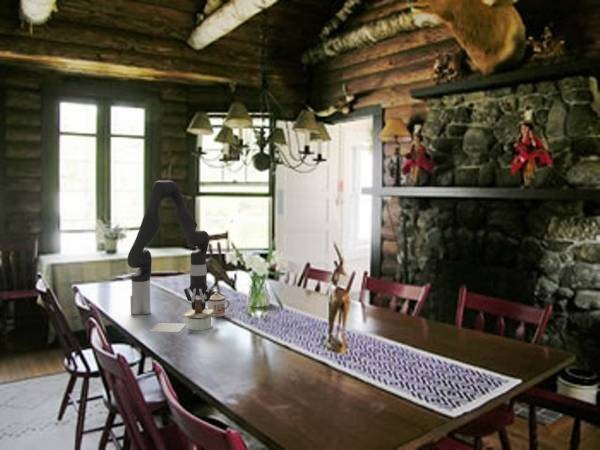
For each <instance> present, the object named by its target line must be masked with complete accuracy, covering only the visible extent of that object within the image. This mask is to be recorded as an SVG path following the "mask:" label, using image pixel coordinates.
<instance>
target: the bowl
mask: <svg viewBox="0 0 600 450" xmlns="http://www.w3.org/2000/svg"><path fill="white" fill-rule="evenodd" d="M186 324H187V325H186V328H187V329H188V330H190V331H191V330H192V331H204V330H208V329H210V328H211V327H212V317H211V316H210V317H209V318H186Z"/></svg>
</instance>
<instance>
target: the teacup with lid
mask: <svg viewBox="0 0 600 450" xmlns="http://www.w3.org/2000/svg"><path fill="white" fill-rule="evenodd" d="M226 302H227V305H226ZM230 305H231V304H230V300H228V299H226V297H225V296H224V295H221V294H219V292H214V294H211V297H210V300H209V301H207V309H213V310H214V312H213V314H212V315H211V318H212V317H213V318H215V317H216V318H219V317H224V316H225V315H226V310H227V309H228V308H230Z"/></svg>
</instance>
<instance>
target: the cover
mask: <svg viewBox="0 0 600 450" xmlns="http://www.w3.org/2000/svg"><path fill="white" fill-rule="evenodd" d="M213 312H214V310H213V309H208V308H205V309H204V310H202V299H201V298H196V299H195V310H193V309H192V308H189V309H188V310H187V311H185V312H184V313H183V314H182V318H186V319H187V318H209V317H210V316H211V315H212V314H213Z"/></svg>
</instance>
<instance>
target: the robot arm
mask: <svg viewBox="0 0 600 450" xmlns="http://www.w3.org/2000/svg"><path fill="white" fill-rule="evenodd" d="M163 200H165V201H166V200H171V202H172V203H173V204H174V206H175V207H174V208H175V219H176V221H177V223H178V224H179V226H180V227H181V229H182V230H183V234H184V238H185V241H186V243H187V244H188V245H189V246H191V247H194V248H195V247H196V249H195V250H194V251H192V252H191V253H190V267H189V268H190V269H189V271H190V272H189V277H190V279H189V281H190V282H189V283H190V284H189V287H186V288H185V287H184V289H183V292H184V294H185V297H186V299H187V301H188V302H191V309H193V310H195V299H197V296H200V299H202V310H204V309H207V308H206V302H207V303H208V301H209V300H210V297H211V296H212V295H213V292H214V288H210V287H208V285H207V280H208V279H207V278H208V277H207V273H208V271H207V270H208V269H207V252H208V249H209V246H210V245H209V244H210V235H209V233H208V232H207V231H206V230H196V228H197V227H198V224H197V223H198V222H197V221H196V220H195V218H194V217H193V215H192V213H190V210H189V209H188V206H187V205H186V203H185V200H184V197H183V196H182V193H181V191H180V189H179V187H178V185H177V183H176V182H174V181H173V180H157V181H155V182H154V183H153V184H152V187H151V192H150V195H149V199H148V203H147V207H146V210H145V213H144V214H143V215H144V216H143V218H142V221H141V223H140V227H139V230H138V232H137V235H136V237H135V240H134V242H133V244H132V246H131V248H130V249H129V252H128V254H127V266H129V268H131V269H138V268H139V269H138V270H137V271H136V272H135V273H133V274H132V275H131V295H130V315H136V316H139V315H140V316H141V315H142V316H143V315H148V314H150V313H151V312H152V311H151V307H152V306H151V303H152V302H151V276H152V275H151V274H152V254H151V252H150V250H149V249H147V248H146V247H147V246H148V244H150V243H151V242H152V241H153V240H155V238H156V237H157V236H158V233H159V231H160V230H161V226H162V216H161V213H160V206H161V203H162V201H163ZM206 291H207V296H206V294H205V293H206ZM190 292H191V293H192V294H190Z"/></svg>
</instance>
